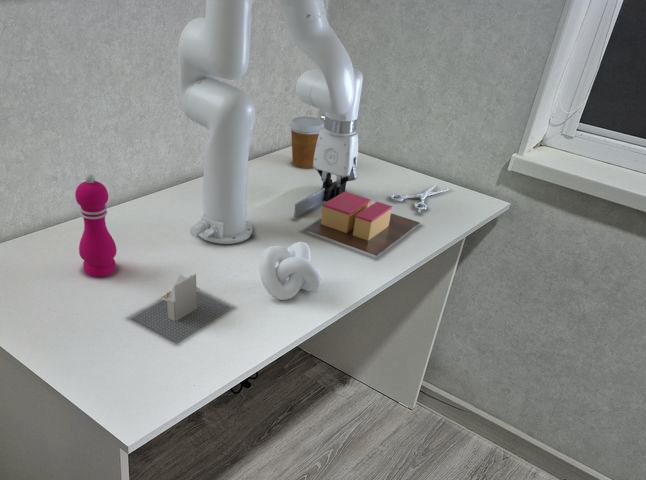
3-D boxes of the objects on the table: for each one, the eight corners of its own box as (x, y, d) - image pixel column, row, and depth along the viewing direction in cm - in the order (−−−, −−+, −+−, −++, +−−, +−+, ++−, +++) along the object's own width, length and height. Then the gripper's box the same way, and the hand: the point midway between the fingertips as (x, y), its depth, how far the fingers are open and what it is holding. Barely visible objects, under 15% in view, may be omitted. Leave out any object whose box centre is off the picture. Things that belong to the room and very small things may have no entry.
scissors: (384, 198, 164) (428, 178, 176) (384, 200, 164) (427, 181, 176) (419, 212, 158) (462, 191, 170) (419, 215, 159) (461, 193, 170)
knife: (297, 221, 152) (299, 205, 150) (290, 218, 153) (291, 202, 151) (344, 193, 167) (346, 179, 164) (337, 191, 168) (339, 176, 165)
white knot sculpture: (276, 313, 120) (280, 271, 115) (245, 283, 128) (246, 242, 123) (326, 299, 125) (331, 258, 120) (292, 271, 133) (296, 231, 128)
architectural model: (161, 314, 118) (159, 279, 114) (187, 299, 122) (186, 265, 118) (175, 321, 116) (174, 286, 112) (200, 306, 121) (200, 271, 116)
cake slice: (368, 240, 144) (371, 220, 141) (352, 235, 146) (355, 214, 143) (388, 226, 151) (392, 206, 148) (373, 221, 153) (377, 201, 150)
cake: (346, 233, 147) (349, 212, 144) (320, 224, 150) (322, 203, 147) (367, 219, 153) (370, 199, 150) (342, 210, 157) (345, 191, 154)
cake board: (376, 259, 139) (377, 255, 139) (303, 232, 148) (303, 229, 147) (419, 225, 154) (420, 222, 153) (350, 203, 162) (351, 200, 162)
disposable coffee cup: (282, 159, 185) (285, 116, 177) (313, 157, 187) (317, 115, 180) (293, 171, 177) (297, 127, 170) (325, 169, 180) (330, 126, 173)
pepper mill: (82, 280, 126) (70, 182, 114) (80, 262, 132) (68, 167, 120) (120, 277, 128) (111, 180, 116) (116, 259, 133) (107, 165, 121)
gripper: (303, 120, 154) (297, 193, 165) (362, 136, 147) (351, 211, 158) (320, 113, 159) (312, 184, 170) (377, 128, 152) (365, 202, 163)
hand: (331, 197), depth 164 cm, fingers closed on knife, 2 cm apart
